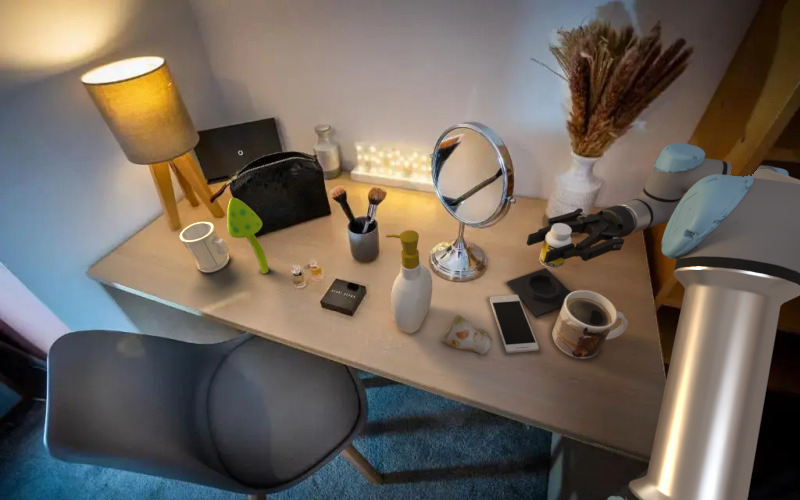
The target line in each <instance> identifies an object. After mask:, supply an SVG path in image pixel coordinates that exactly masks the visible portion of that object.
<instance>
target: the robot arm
mask: <svg viewBox="0 0 800 500" xmlns="http://www.w3.org/2000/svg"><path fill="white" fill-rule="evenodd" d="M705 156H706V152H705V151H704V150H703V148H701V147H699V146H697V145H693V144H690V143H685V142H676V143H675V142H673V143H670V144H668V145H666V146H664V148H663V149H662V150H661V152H660V153H659V155H658V157H657V159H656V161H655V162H654V164H653V167H652V169H651V172H650V173H649V176H648V178H647V181H646V183H645V185H643V186H644V187H643V188H642V190H641V192H640V195H639V196H638V197H636V198H634V199H631V200H628V201H624V202H622V203H618V204H614V205H612V206H609V207H606V208H602V209H601V210H600V211H598V212H596V213H590V214H589V213H588V214H587V213H584V210H583V208H581V207H580V208H579V207H578V208H576V209H575V210H573V211H571V212H568V213H563V214H561V215H556V216H554V217H550V218H548V219H547V222H546V224H545V225H546V226H545V227H542V228H539V229H538V230H537V231H536V232H532V233H530V234H528V236H527V240H526V245H527V246H528V247H529V246H533V245H535V244H538V243H541V242H544V240H545V237H546V234H547V233H548V232H550V231H551V228H552V226H553V225H554V224H556V223H563V224H566V225H568V226H569V227H570V228H571V229H572V232H571V234H575V233H578V234H587V235H588V236H586V237H585V238H584V239H582V240H581V241H580V242H576V244H575V243H573V242H571V244H568V245H565V246H562V247H559V248H556V249H553V250H551V251H548V252H547V253H546V257H545V260H544V261H545V262H546V263H549V262H551V261H554V260H557V259H560V258H562V259H565V260H568V259H571V258H574V257H579V258H581V261H583V262H587V261H590V260H592V259H595V258H597V257H599V256H603V255H604V254H605V255H606V254H607V253H609V252H613V251H614V252H615V251H620V250H621V249H622V247H623V245H624V243H625V241H626V240H625V237H627V236H629V235H632V234H637V233H639V232H641V231H644V230H647V229H649V228H652V227H655V226H659V225H663V224H666V223H667V224H666V227H665V229H664V233H663V235H662V239H661V244H660V246H661V250H660V251H661V253H662V255H663V256H665V257H667V258H668V259H670V260H674V259H675V264H674V269H673V276H674V278H675V279H676V280H677V281H678V282H679V283H680V284H681V286H682V287H683V288H684V293H683V298H682V303H681V307H680V314H679V318H678V322H677V326H676V332H675V336H674V342H673V346H672V352H671V356H670V361H669V366H668V370H667V376H666V380H665V384H664V390H663V394H662V395H663V396H662V399H661V404H660V410H659V414H658V420H657V425H656V428H655V433H654V437H653V438H654V439H653V442H652V448H651V453H650V458H649V464H648V468H647V473H646V474H645V475H644V476H643V477H640V478H637V479H633V480H630V481H629V484H628V487H627V492H626V495H625V498H623V496H620V495H617V496H616V495H611V496H609V497H608V498H607V499H606V500H748V498H749V492H750V486H751V482H752V481H751V479H752V474H753V469H754V463H755V459H756V457H755V456H756V451H757V445H758V441H759V440H758V439H759V434H760V428H761V422H762V416H763V410H764V406H765V405H764V404H765V398H766V392H767V387H768V381H769V375H770V369H771V364H772V357H773V351H774V347H775V341H776V335H777V328H778V322H779V318H780V311H781V306H782V305H783V304H784V303H787V302H789V301H790V300H793V299H796V298H798V297H799V296H800V179H798V178H795V177H793V176H790V175H789V172H788V170H786V169H784V168H780V167H775V166H771V165H767V164H761V165H760V166H759V167H758V168H757V170H756V171H755V172H754V174H752V176H750V175H748V176H744V177H742V176H732V175H730V174H731V169H732V167H731V163H730V162H731V161H725V160H719V159H713V158H706V157H705ZM601 241H602V242H601Z"/></svg>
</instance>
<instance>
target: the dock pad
mask: <svg viewBox="0 0 800 500" xmlns="http://www.w3.org/2000/svg"><path fill="white" fill-rule="evenodd" d="M506 285H507V286H508V287H509V288H510V289H511V290H512V291H513V293H514V295H518V296H519V299H520V301H521V303H523V304H524V306H525V307H526V308H527V309H528V311H529V312H530V313H531V314H532V315H533V316H534V317H535V318H536V319H538V318H540V317H543V316H545V315H548V314H550V313H553V312H555V311H558V310H561V308H562V305H563V303H564V300H565V298H566V297H567V295H569V294H570V293H572V292H571V290H569V289H568V288H567V287H566V285H564V284H563V283H562V282H561V281H560V280H559V279H558V277H556V276H555V275H554V274H553V273H552V272H551V271H550V270H549V268H548V267H544V268H541V269H539V270H536V271H533V272H530V273H527V274H525V275H522V276H519V277H515V278H513V279H510V280H508V281H507V282H506Z"/></svg>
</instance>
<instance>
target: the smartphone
mask: <svg viewBox="0 0 800 500" xmlns="http://www.w3.org/2000/svg"><path fill="white" fill-rule="evenodd" d="M489 303H490V306H491V310H492V313H493V315H494V319H495V323H496V325H497V328H498V332H499V334H500V338H501V342H502V344H503V345H502V346H503V347H504V352H505V353H507V354H513V353H514V354H515V353H525V352H526V353H527V352H538V351H539V349H540V348H539V347H540V346H539V343H538V341H537V339H536V337H535V334H534V331H533V328H532V327H531V324H530V321H529V319H528V316H527V314H526V311H525V309H524V306H523V304H522V301H521V300H520V298H519V296H518V295H516V294H507V295H496V296H495V295H493V296H490V297H489Z"/></svg>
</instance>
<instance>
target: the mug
mask: <svg viewBox="0 0 800 500" xmlns="http://www.w3.org/2000/svg"><path fill="white" fill-rule="evenodd" d="M559 310H560V311H559V313H558V316H557V318H556V320H555V323H554V326H553V328H552V332H551V335H552V339H553V342H554V344H555V346H557V348H558V349H559V350H560V351H561V352H563V353H564V354H566V355H568V356H570V357H573V358H576V359H589V358H593V357H594V356H596V355H597V354H598V352H599V351H600V350H601V347H602V346H603V344H604V343H605V341H606V340H612V339H615V338H616V337H619V336H621V335H622V334H623V333H624V332H626V330H627V329H628V325H629V322H628V319H627V317H626V315H625V314H624V312H622V311H619V310H617V309H616V307H615V305H614V304H613V302H611V300H609V299H608V298H607V297H606V296H604V295H602V294H600V293H598V292H596V291H593V290H585V289H578V290H573V291H572V292H571V293H570V294H569V295H567V297H566V298H565V300H564V303H563V305H562V308H561V309H559ZM618 319H619V320H621V323H620V324H619V325H618V326H617V327H615V328H613V327H614V325H615V324H616V322H617V321H618Z"/></svg>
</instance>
